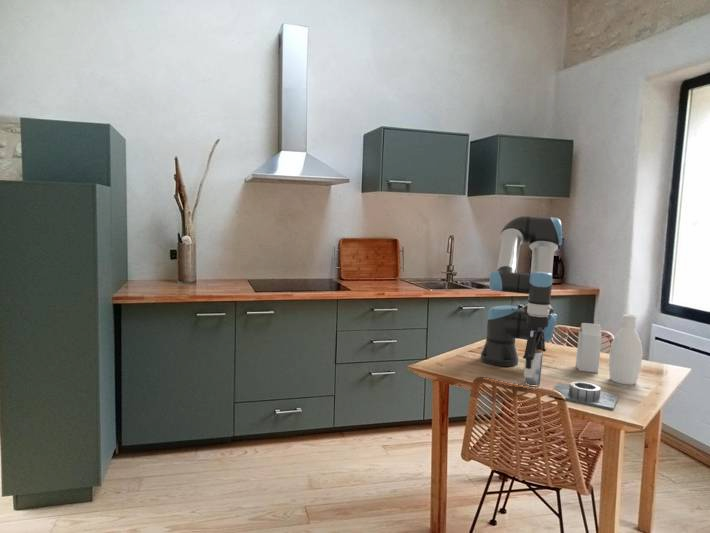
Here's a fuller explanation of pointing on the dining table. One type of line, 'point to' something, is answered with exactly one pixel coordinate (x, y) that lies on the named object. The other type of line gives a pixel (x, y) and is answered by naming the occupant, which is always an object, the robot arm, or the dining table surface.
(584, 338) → the milk carton
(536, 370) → the block
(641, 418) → the dining table surface
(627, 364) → the bottle
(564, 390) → the flange plate
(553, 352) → the dining table surface
